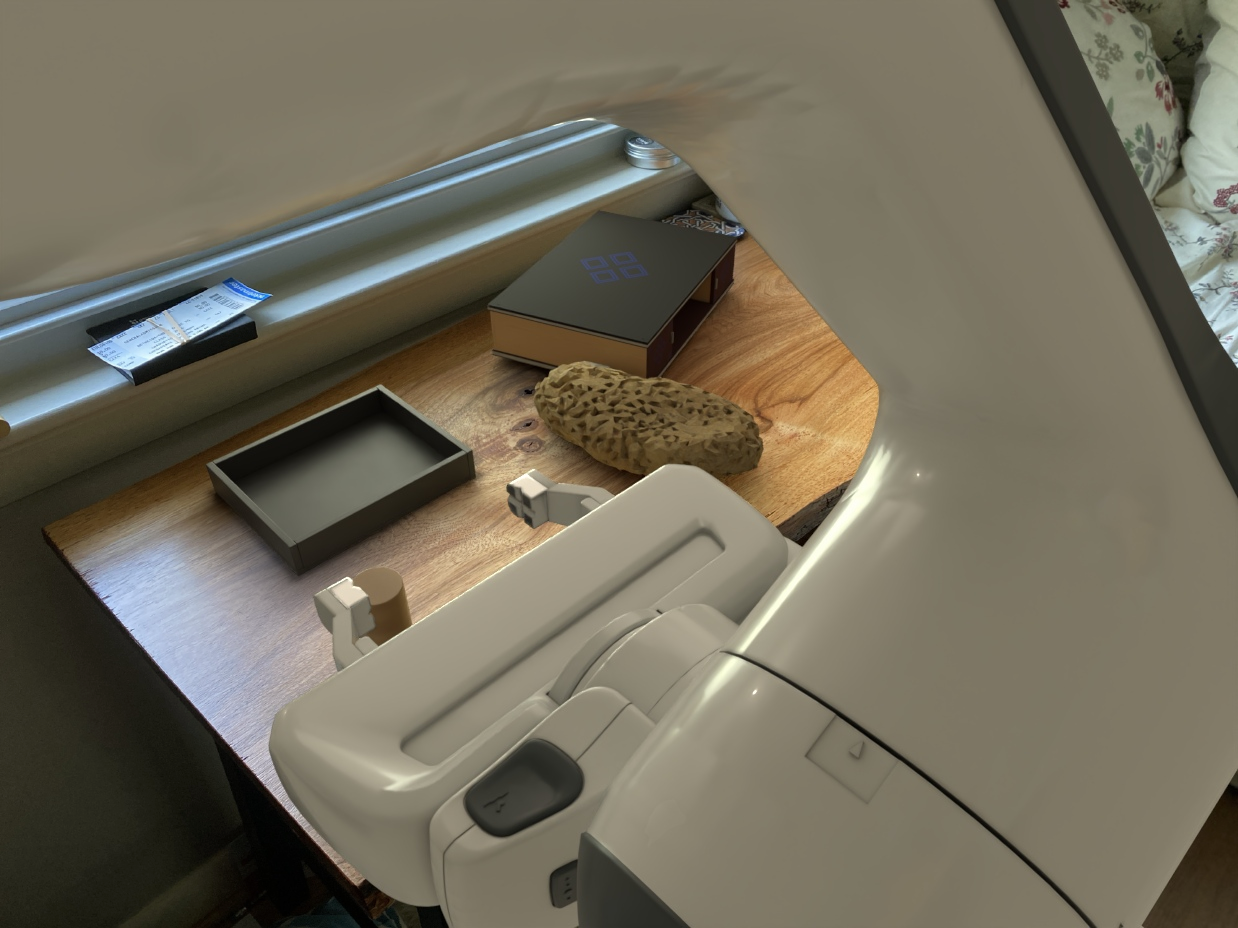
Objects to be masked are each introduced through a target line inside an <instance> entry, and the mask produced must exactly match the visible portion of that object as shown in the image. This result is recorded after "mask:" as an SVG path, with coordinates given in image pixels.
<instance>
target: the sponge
mask: <svg viewBox="0 0 1238 928" xmlns="http://www.w3.org/2000/svg"><path fill="white" fill-rule="evenodd" d="M534 391H535V393H534V396H533V400H532V401H533V403H534V407H535V409H536V412H537V414H538V416H539V418H540V419H541V420H542V421H543V422H544V425H545V427H546V428H548V429H550V428H551V432H552V433H553V434H555V435H557V436H559V437H560V438H562V439H564V440H565V441H567V442H570V443H571V444H574V445H576V446H578V447H580V448H582V449H583V450H584V451H585V452H586V453H588V454H589V455H590V456H591V457H592V458H593V459H595V460H596V461H597V462H600V463H602V464H604V465H606V466H608V467H613V468H616V469H617V470H619V471H627V472H628V473H630V474H634V475H644V476H645V477H646V476H648V475H649V474H651V473H652V472H654V471H656V470H657V469H659V468H660V467H662V466H664V465H667V464H681V465H691V466H696V467H699V468H701V469H702V470H704V471H706V472H707V473H709V474H710V475H712V476H713V477H715V478H716V479H718V480H719V479H723V478H726V477H733V476H739V475H742V474H743V473H749V472H751V471H753V470H756V469H757V468H758V465H759V463H760V460H761V458H762V455H763V453H764V442H763V441H764V440H763V438H762V437H761V436H760V426H759V425H758V423H756V422H755V417H754V415H753V414H751V413H749V412H748V411H746V410H745V409H744V408H742V407H741V406H739V404H737V403H735V402H733V401H732V400H731V399H728V398H725V397H723V396H720V395H717V394H715V393H713V392H709V391H707V390H704V389H702V388H700V387H698V386H695V385H693V384H689V383H684V382H683V383H682V382H677V381H675V380H673V379H671V378H666V377H662V376H661V377H654V378H649V379H644V378H641V377H638V376H635V375H630V374H627V373H625V372H623V371H621V370H615V369H611V368H610V367H609V366H606V365H601V364H597V363H593V362H588V361H581V362H575V363H572V364H569V365H565V364H562V365H561V366H559V367H558V368H556V369H554V370H550V371H549V373H548V377H544V378H543V380H542V381H541V382H539V381H537V383H536V385H535V387H534Z"/></svg>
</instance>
